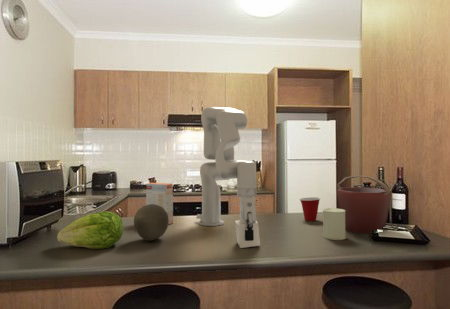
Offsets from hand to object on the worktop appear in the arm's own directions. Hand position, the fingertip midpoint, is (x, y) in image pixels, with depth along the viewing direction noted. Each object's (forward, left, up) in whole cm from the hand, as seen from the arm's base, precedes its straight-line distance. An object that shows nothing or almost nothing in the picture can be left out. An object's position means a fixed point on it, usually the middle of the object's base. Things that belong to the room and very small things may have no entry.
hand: (247, 237), depth 119 cm
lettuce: (-54, -29, -3) cm, 61 cm away
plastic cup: (+11, +57, -3) cm, 58 cm away
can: (+28, +28, -3) cm, 40 cm away
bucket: (+38, +48, -3) cm, 61 cm away
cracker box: (-57, +15, -3) cm, 59 cm away
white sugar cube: (0, 0, -3) cm, 3 cm away
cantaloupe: (-38, -12, -3) cm, 40 cm away
